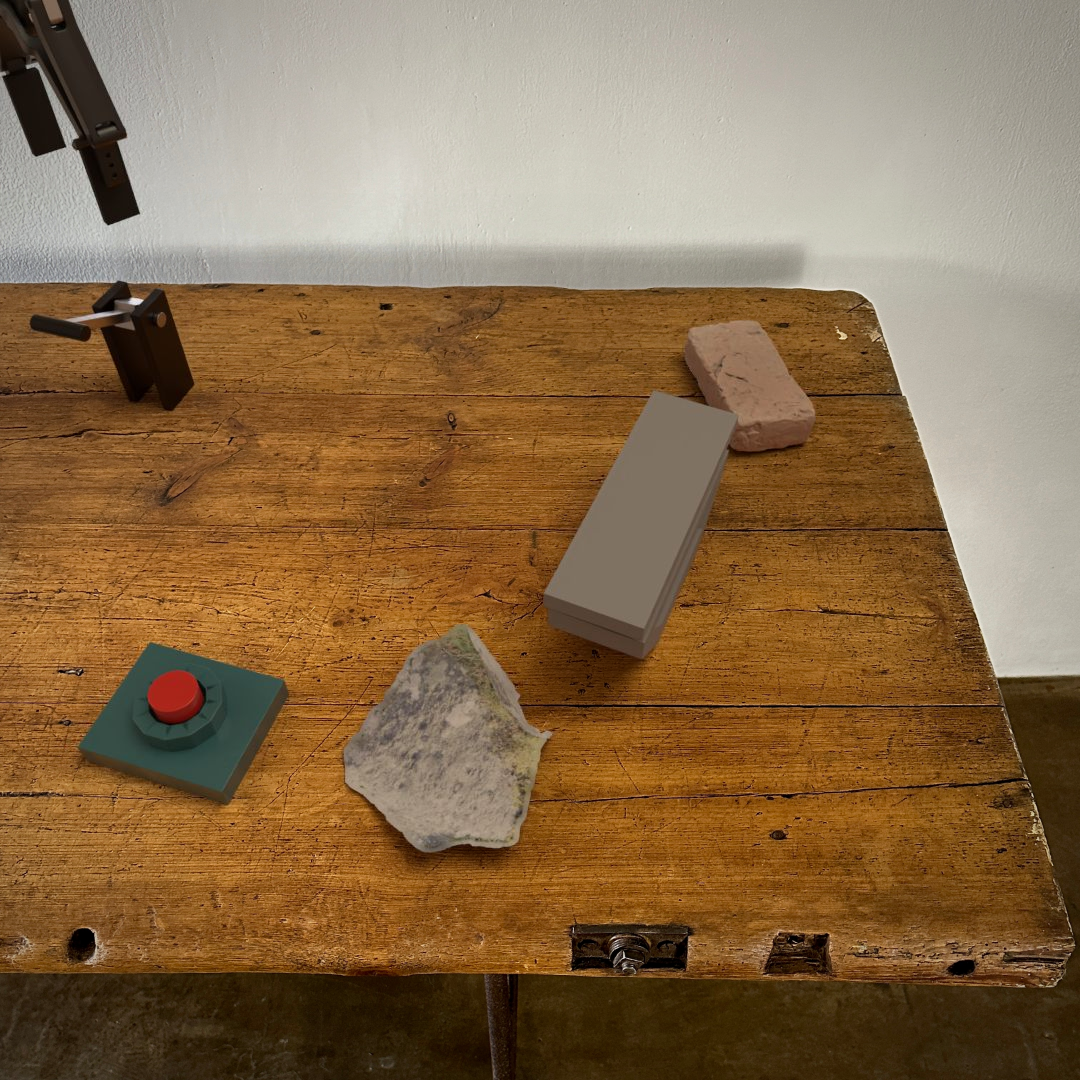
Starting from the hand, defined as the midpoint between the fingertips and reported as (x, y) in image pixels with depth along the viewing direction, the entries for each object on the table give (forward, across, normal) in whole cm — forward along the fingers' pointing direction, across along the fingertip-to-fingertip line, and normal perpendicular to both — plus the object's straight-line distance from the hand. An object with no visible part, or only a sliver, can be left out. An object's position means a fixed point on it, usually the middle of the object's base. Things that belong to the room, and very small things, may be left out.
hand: (84, 183), depth 80 cm
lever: (+14, 0, +3) cm, 14 cm away
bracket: (+26, +2, -1) cm, 26 cm away
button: (+22, -34, +16) cm, 43 cm away
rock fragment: (+26, -49, +2) cm, 55 cm away
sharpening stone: (+26, -46, -22) cm, 57 cm away
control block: (+26, -34, +16) cm, 45 cm away
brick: (+26, -36, -47) cm, 65 cm away
